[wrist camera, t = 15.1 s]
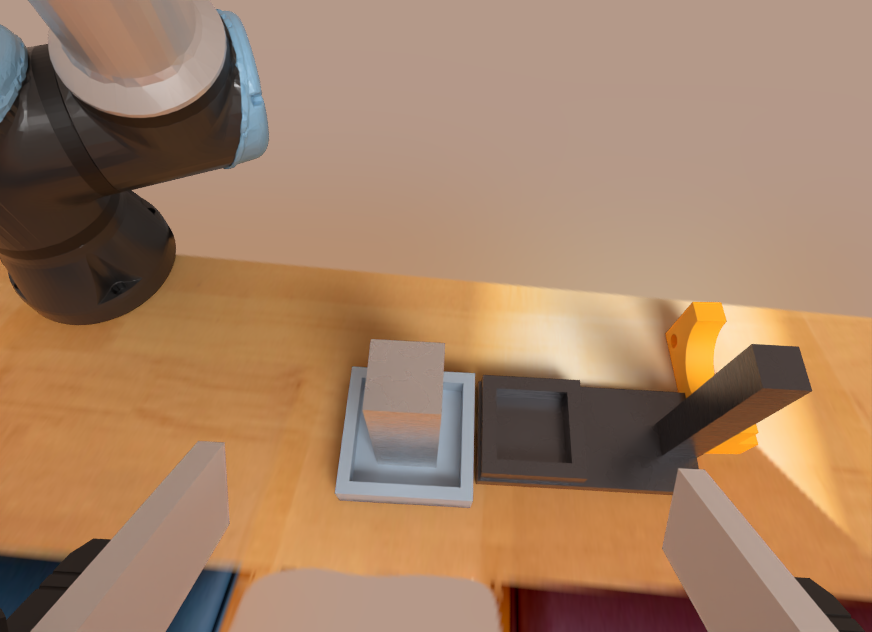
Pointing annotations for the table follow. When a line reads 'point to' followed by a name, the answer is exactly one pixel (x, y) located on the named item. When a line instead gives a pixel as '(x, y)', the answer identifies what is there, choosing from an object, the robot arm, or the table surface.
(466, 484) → the parts tray
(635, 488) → the dark grey post stand
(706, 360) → the pipe clamp
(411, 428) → the light grey tall block
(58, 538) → the table surface
